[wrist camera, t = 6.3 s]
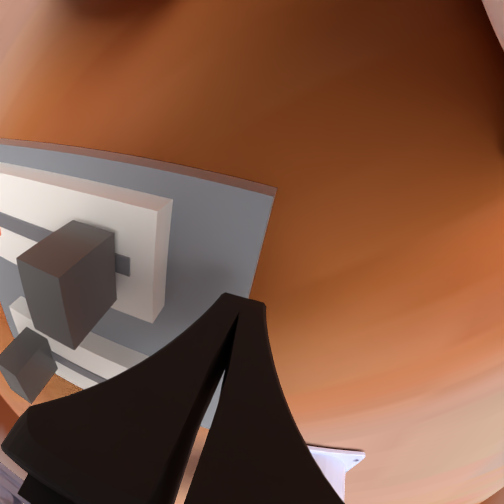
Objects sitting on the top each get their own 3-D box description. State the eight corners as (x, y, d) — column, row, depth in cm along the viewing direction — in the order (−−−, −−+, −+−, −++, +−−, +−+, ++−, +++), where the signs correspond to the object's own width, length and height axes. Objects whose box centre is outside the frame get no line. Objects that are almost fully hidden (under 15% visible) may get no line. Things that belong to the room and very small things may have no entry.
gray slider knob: (116, 299, 11) (74, 350, 8) (78, 284, 11) (34, 328, 9) (114, 232, 10) (58, 278, 7) (72, 220, 10) (15, 257, 7)
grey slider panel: (217, 416, 19) (193, 490, 13) (21, 328, 20) (-19, 372, 14) (277, 187, 11) (247, 267, 6) (-13, 137, 12) (-87, 165, 7)
